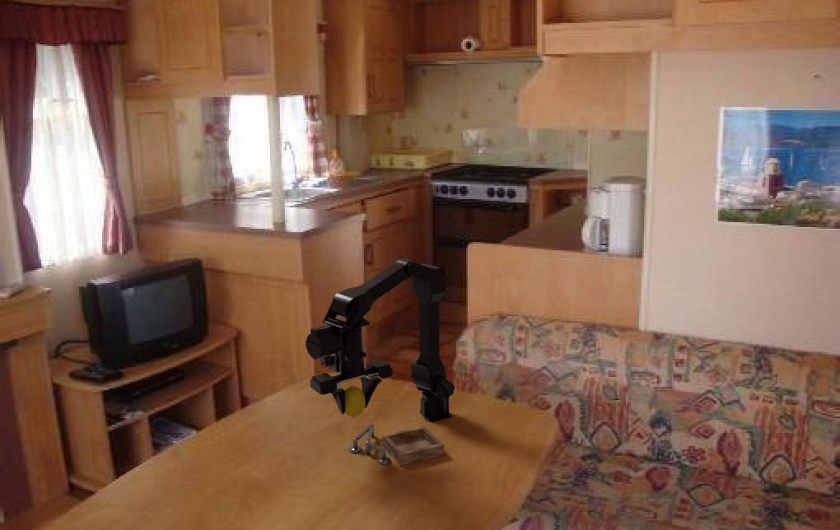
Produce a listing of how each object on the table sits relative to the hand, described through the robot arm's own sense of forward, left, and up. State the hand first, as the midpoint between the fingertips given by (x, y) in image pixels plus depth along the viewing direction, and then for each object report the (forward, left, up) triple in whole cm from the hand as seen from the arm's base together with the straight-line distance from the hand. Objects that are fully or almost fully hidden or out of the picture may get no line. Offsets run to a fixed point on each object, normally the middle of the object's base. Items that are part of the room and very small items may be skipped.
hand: (353, 410), depth 182 cm
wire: (-2, +2, -10) cm, 10 cm away
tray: (-12, +6, -10) cm, 17 cm away
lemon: (0, 0, -2) cm, 2 cm away
